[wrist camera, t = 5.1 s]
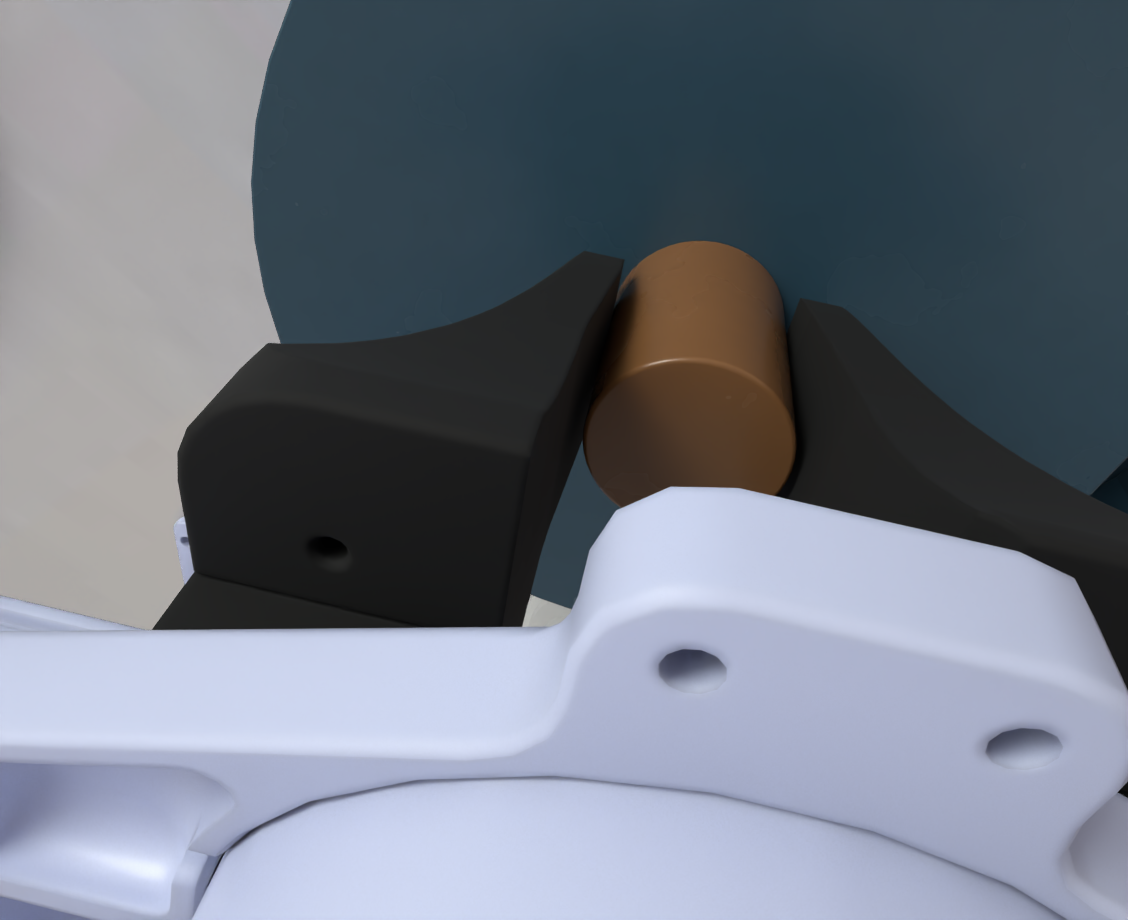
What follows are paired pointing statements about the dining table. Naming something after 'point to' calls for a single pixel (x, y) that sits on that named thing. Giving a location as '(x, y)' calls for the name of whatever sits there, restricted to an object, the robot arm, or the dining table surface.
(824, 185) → the pan lid
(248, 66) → the dining table surface
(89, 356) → the dining table surface
